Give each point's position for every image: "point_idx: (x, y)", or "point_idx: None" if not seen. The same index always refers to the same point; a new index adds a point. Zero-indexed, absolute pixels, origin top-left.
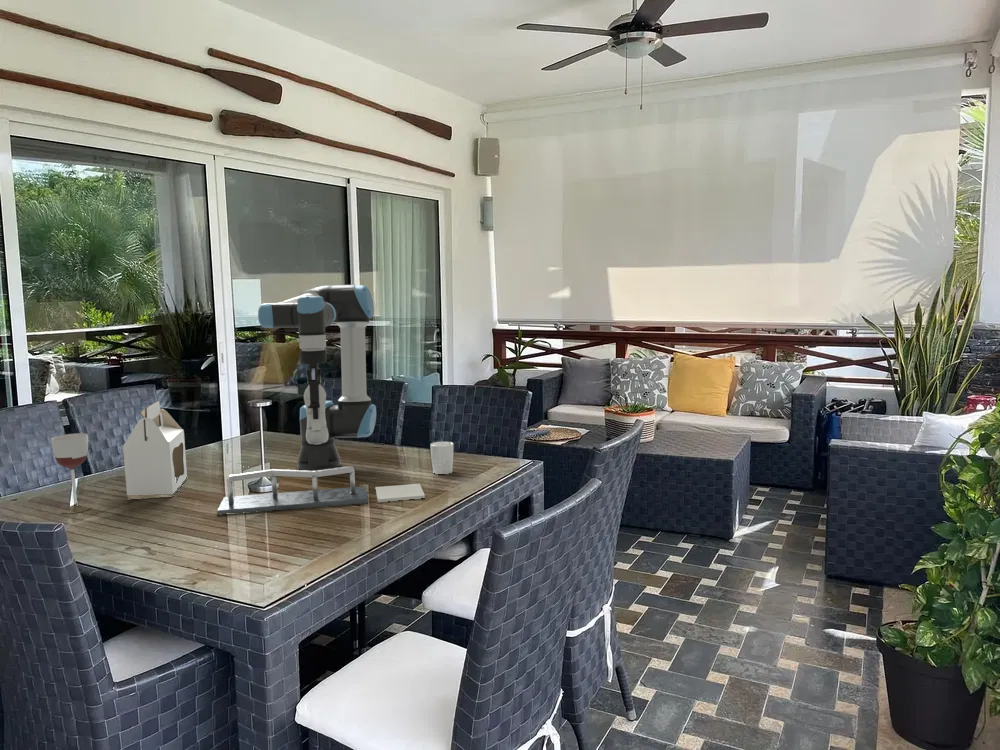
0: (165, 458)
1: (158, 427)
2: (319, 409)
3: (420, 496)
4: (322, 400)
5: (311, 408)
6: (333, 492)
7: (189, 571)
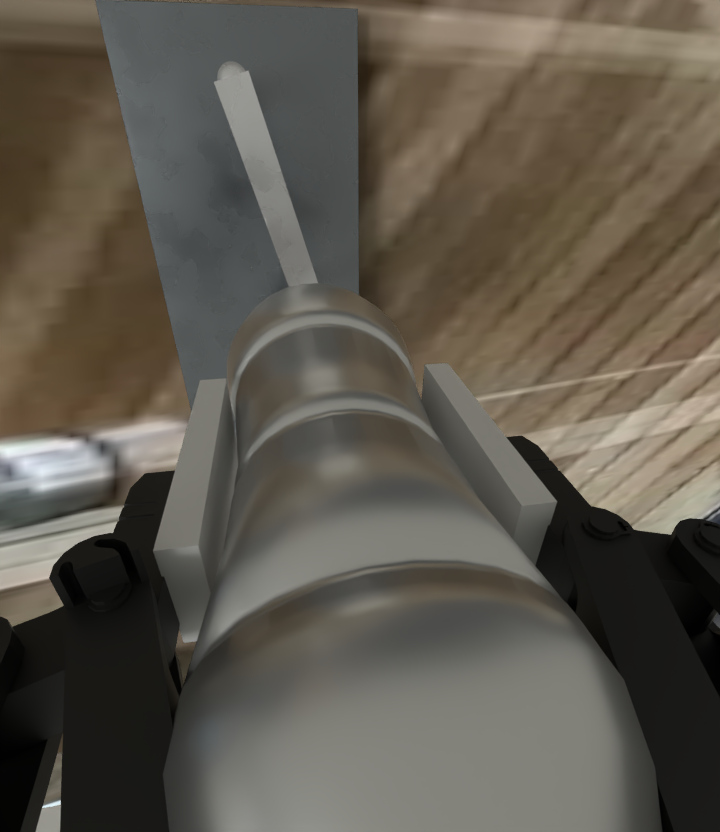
0: None
1: None
2: (542, 493)
3: None
4: (527, 562)
5: None
6: (214, 202)
7: (704, 478)
